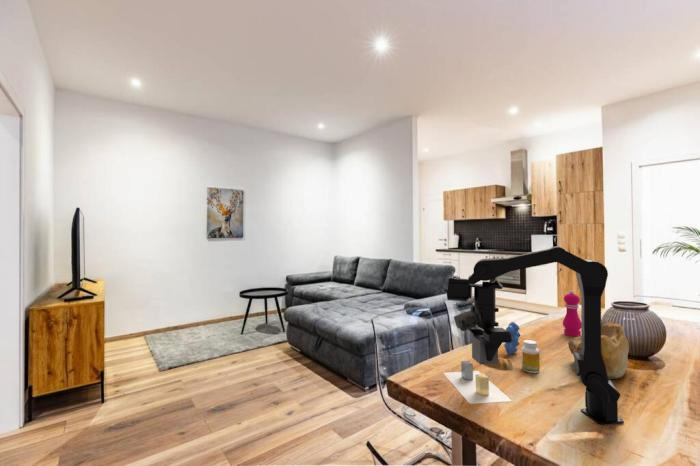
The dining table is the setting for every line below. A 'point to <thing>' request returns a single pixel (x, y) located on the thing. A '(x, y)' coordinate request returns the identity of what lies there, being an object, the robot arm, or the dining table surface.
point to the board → (469, 389)
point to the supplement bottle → (530, 357)
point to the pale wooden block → (482, 384)
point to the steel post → (467, 370)
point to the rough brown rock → (609, 349)
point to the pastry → (502, 364)
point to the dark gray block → (481, 351)
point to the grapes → (512, 345)
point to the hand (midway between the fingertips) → (484, 357)
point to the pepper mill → (572, 315)
